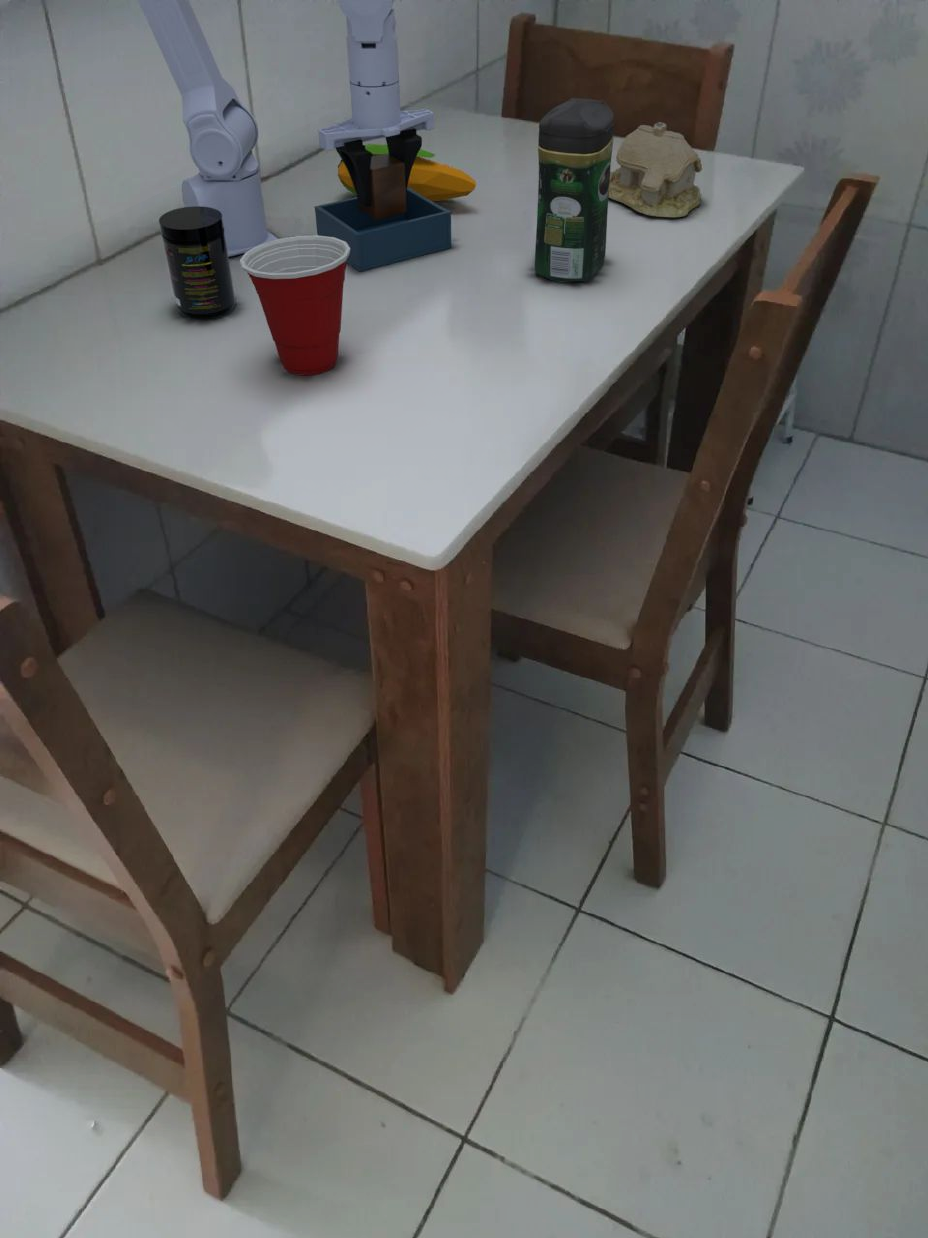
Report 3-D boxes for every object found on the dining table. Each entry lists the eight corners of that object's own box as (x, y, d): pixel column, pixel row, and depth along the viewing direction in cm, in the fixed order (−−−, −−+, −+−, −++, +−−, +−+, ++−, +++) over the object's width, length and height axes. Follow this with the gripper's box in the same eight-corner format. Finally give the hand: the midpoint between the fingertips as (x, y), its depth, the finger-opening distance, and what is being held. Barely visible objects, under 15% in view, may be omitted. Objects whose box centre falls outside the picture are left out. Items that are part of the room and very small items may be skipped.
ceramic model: (717, 201, 145) (729, 124, 138) (670, 224, 139) (679, 144, 132) (634, 177, 152) (641, 103, 146) (585, 199, 146) (590, 121, 140)
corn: (347, 128, 146) (485, 142, 141) (353, 184, 151) (486, 199, 146) (325, 149, 141) (467, 164, 136) (332, 205, 146) (469, 222, 141)
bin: (359, 271, 129) (356, 234, 126) (318, 241, 136) (314, 206, 133) (451, 247, 134) (451, 211, 131) (407, 219, 141) (405, 185, 138)
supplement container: (246, 312, 121) (231, 220, 114) (189, 327, 118) (171, 234, 111) (223, 291, 125) (208, 201, 118) (168, 305, 122) (149, 214, 115)
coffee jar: (549, 249, 133) (556, 89, 121) (610, 257, 131) (624, 95, 119) (525, 279, 126) (530, 113, 114) (589, 289, 124) (601, 120, 112)
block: (375, 220, 130) (372, 169, 126) (358, 209, 133) (355, 159, 129) (406, 212, 132) (404, 162, 128) (389, 202, 134) (386, 152, 130)
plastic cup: (308, 329, 117) (296, 220, 109) (380, 357, 112) (373, 245, 104) (234, 366, 111) (215, 253, 103) (306, 398, 106) (292, 282, 98)
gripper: (334, 98, 117) (344, 222, 126) (446, 78, 123) (448, 197, 131) (305, 84, 121) (318, 204, 130) (415, 64, 127) (419, 180, 136)
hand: (381, 199), depth 131 cm, fingers closed on block, 4 cm apart
